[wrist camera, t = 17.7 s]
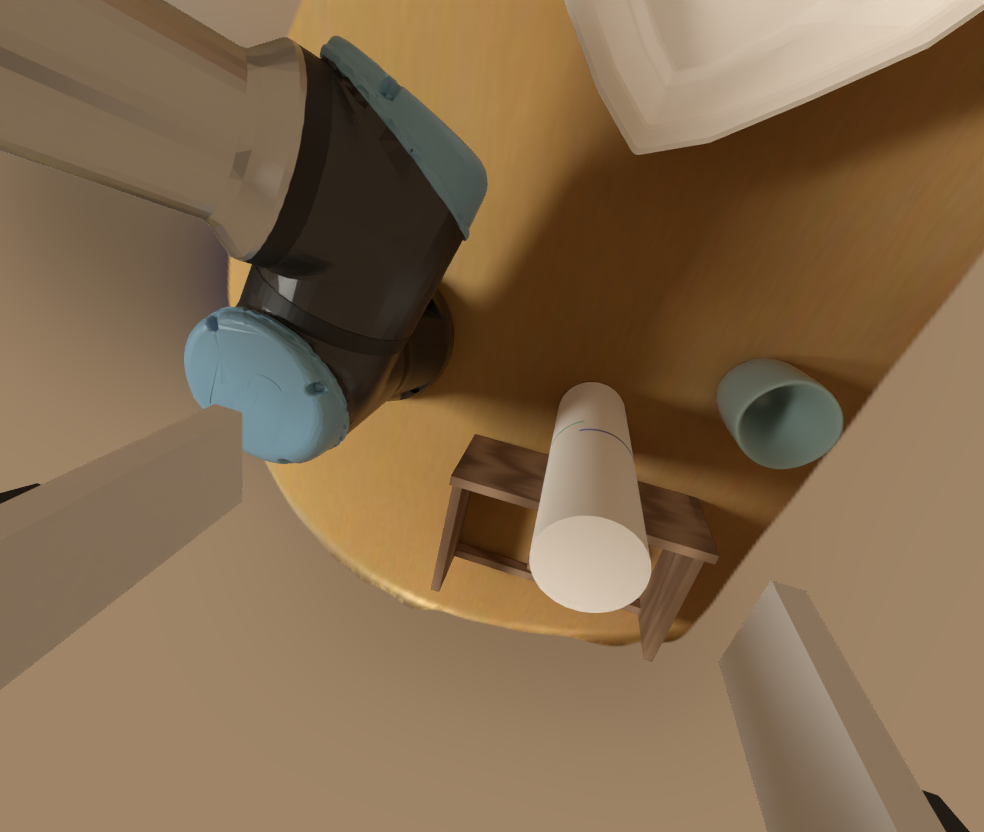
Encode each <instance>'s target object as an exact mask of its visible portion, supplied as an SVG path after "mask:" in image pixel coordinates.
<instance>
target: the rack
mask: <svg viewBox="0 0 984 832" xmlns="http://www.w3.org/2000/svg"><path fill="white" fill-rule="evenodd" d="M548 458H549V455H545V454H542V453H538V452H535V451H531V450H528V449H525V448H521V447H518V446H514V445H511V444H507V443H504V442H500V441H497V440H493V439H490V438H486V437H483V436H479V435H476V434H475V435H474V437H473V439H472V440H471V442H470V444H469V446H468V447H467V449H466V451H465V453H464V454H463V456H462V458H461V460H460V461H459V463H458V465H457V467H456V468H455V470H454V472H453V474H452V475H451V479H450V484H449V485H453V486H452V491H451V496H450V500H449V505H448V510H447V515H446V519H445V524H444V529H443V534H442V538H441V543H440V548H439V553H438V558H437V562H436V567H435V572H434V577H433V581H432V586H431V590H435V591H438V592H439V591H440V588H441V586H442V584H443V581H444V579H445V577H446V574H447V572H448V569H449V567H450V565H451V562H452V560H453V558H454V556H456V557H460V558H463V559H466V560H469V561H472V562H475V563H478V564H482V565H485V566H488V567H491V568H494V569H497V570H500V571H504V572H507V573H510V574H513V575H516V576H519V577H522V578H526V579H529V580H532V581H535V580H534V578H533V575H532V573H531V571H530V570H528V569H527V564H525V563H522V562H519V561H516V560H512V559H509V558H506V557H503V556H500V555H496V554H493V553H490V552H487V551H484V550H481V549H477V548H474V547H471V546H468V545H465V544H462V543H459V540H460V535H461V531H462V527H463V522H464V518H465V514H466V509H467V505H468V501H469V496H470V492H471V491H473V492H476V493H479V494H483V495H486V496H489V497H492V498H496V499H499V500H502V501H506V502H509V503H512V504H516V505H519V506H522V507H526V508H529V509H532V510H536V511H538V509H539V504H540V499H541V494H542V489H543V483H544V478H545V473H546V468H547V463H548ZM637 483H638V489H639V495H640V501H641V507H642V513H643V519H644V524H645V530H646V536H647V542H648V545H651V546H655V547H658V548H661V549H663V551H662V553H661V555H660V558H659V560H658V562H657V564H656V566H655V568H654V570H653V573H652V575H651V577H650V580H649V582H648V585H647V587H646V589H645V590H644V592H643V594H642V596H641V598H640V600H639V599H636V600H634V601H633V602H632V603H631V604H629V605H627V606H625V607H623V608H620V609H623V610H626V611H629V612H632V613H636V614H638V617H639V626H640V635H641V644H642V653H643V659H645V660H648V661H651V662H652V661H653V659H654V657H655V655H656V653H657V652H658V649H659V647H660V646H661V644H662V642H663V640H664V638H665V636H666V634H667V632H668V631H669V629H670V627H671V625H672V623H673V621H674V619H675V617H676V615H677V613H678V611H679V610H680V608H681V606H682V604H683V602H684V600H685V598H686V596H687V594H688V592H689V590H690V589H691V587H692V585H693V583H694V581H695V579H696V577H697V575H698V573H699V571H700V569H701V568H702V566H703V564H704V562H708V563H711V564H714V565H715V564H716V562H717V560H718V558H719V554H718V551H717V549H716V546H715V543H714V541H713V538H712V535H711V533H710V530H709V528H708V525H707V522H706V520H705V517H704V514H703V512H702V509H701V507H700V504H699V501H698V499H697V498H694V497H691V496H687V495H684V494H680V493H677V492H673V491H670V490H667V489H663V488H660V487H656V486H653V485H649V484H646V483H642V482H639V481H637ZM535 582H536V581H535Z"/></svg>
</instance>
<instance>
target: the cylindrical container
mask: <svg viewBox="0 0 984 832" xmlns="http://www.w3.org/2000/svg"><path fill="white" fill-rule="evenodd" d="M529 564H530V570H531V573H532V575H533V578H534V580H535V581H536V583H537V584H538V586H539V588H540V589H541V590H542V591H543V592H544V593H545V594H546V595H547V596H549V597H550V598H551V599H553V600H554V601H556V602H557V603H559V604H561V605H563V606H565V607H567V608H571V609H574V610H577V611H582V612H588V613H602V612H610V611H614V610H617V609H620V608H623V607H625V606H627V605H629V604H631V603H632V602H633V601H634V600H636V599H637V598H638V597H639V596H640V595H641V594H642V593H643V591H644V590H645V589H646V587H647V585H648V582H649V580H650V575H651V560H650V554H649V548H648V542H647V536H646V530H645V524H644V519H643V513H642V507H641V501H640V495H639V489H638V483H637V477H636V471H635V465H634V459H633V453H632V448H631V442H630V436H629V430H628V424H627V418H626V412H625V407H624V403H623V401H622V399H621V397H620V396H619V394H618V393H617V392H616V391H615V390H613V389H612V388H611V387H609V386H607V385H605V384H602V383H598V382H585V383H582V384H578V385H576V386H574V387H572V388H571V389H570V390H568V391H567V392H566V394H565V395H564V396H563V398H562V399H561V401H560V404H559V408H558V413H557V418H556V423H555V428H554V433H553V438H552V443H551V448H550V453H549V458H548V463H547V468H546V473H545V478H544V483H543V489H542V494H541V499H540V504H539V509H538V514H537V519H536V524H535V529H534V534H533V539H532V544H531V549H530V557H529Z"/></svg>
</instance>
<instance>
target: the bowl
mask: <svg viewBox="0 0 984 832" xmlns="http://www.w3.org/2000/svg"><path fill="white" fill-rule="evenodd" d="M564 2H565V5H566V8H567V10H568V13H569V16H570V18H571V21H572V24H573V27H574V29H575V32H576V35H577V37H578V40H579V43H580V46H581V48H582V51H583V54H584V56H585V59H586V62H587V65H588V67H589V70H590V73H591V75H592V78H593V81H594V84H595V86H596V89H597V92H598V93H599V95H600V97H601V99H602V100H603V102H604V104H605V106H606V107H607V109H608V111H609V113H610V114H611V116H612V118H613V120H614V121H615V123H616V125H617V127H618V129H619V130H620V132H621V134H622V136H623V137H624V139H625V141H626V143H627V144H628V146H629V148H630V150H631V151H632V152H633V153H634V154H635V155H642V154H648V153H653V152H659V151H665V150H671V149H677V148H683V147H689V146H694V145H700V144H706V143H710V142H713V141H715V140H718V139H720V138H722V137H725V136H727V135H730V134H732V133H734V132H737V131H739V130H742V129H744V128H746V127H749V126H751V125H754V124H756V123H758V122H761V121H763V120H765V119H768V118H770V117H773V116H775V115H777V114H780V113H782V112H785V111H787V110H789V109H792V108H794V107H797V106H799V105H801V104H804V103H806V102H809V101H811V100H813V99H816V98H818V97H820V96H822V95H824V94H827V93H829V92H831V91H833V90H836V89H838V88H840V87H842V86H845V85H847V84H849V83H851V82H854V81H856V80H858V79H860V78H863V77H865V76H867V75H869V74H872V73H874V72H876V71H878V70H880V69H883V68H885V67H887V66H889V65H892V64H894V63H896V62H898V61H901V60H903V59H905V58H907V57H910V56H912V55H914V54H916V53H919V52H921V51H923V50H925V49H928V48H929V47H931V46H932V45H934V44H935V43H936V42H938V41H939V40H941V39H942V38H944V37H945V36H947V35H948V34H950V33H951V32H953V31H954V30H955V29H957V28H958V27H960V26H961V25H963V24H964V23H966V22H967V21H969V20H970V19H971V18H973V17H974V16H976V15H977V14H979V13H980V12H982V11H983V10H984V0H564Z"/></svg>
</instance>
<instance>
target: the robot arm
mask: <svg viewBox="0 0 984 832" xmlns="http://www.w3.org/2000/svg"><path fill="white" fill-rule="evenodd" d="M320 57H321V58H318V57H317V56H315V55H314V54H312V53H311V52H309V51H308V50H306V49H305V48H303V47H302V46H300V45H299V44H297V43H296V42H295V41H293V40H291V39H289V38H287V37H282V38H279V39H275V40H272V41H269V42H266V43H263V44H259V45H256V46H253V47H250V48H244V47H241V46H239V45H237V44H235V43H234V42H232V41H230V40H229V39H227V38H225V37H224V36H222V35H221V34H219V33H217V32H216V31H214V30H212V29H211V28H209V27H207V26H205V25H204V24H202V23H201V22H199V21H197V20H196V19H194V18H192V17H191V16H189V15H187V14H186V13H184V12H182V11H181V10H179V9H177V8H176V7H174V6H172V5H171V4H169V3H168V2H166V1H164V0H0V150H1V151H4V152H7V153H10V154H13V155H15V156H18V157H21V158H24V159H27V160H30V161H33V162H36V163H39V164H42V165H45V166H48V167H51V168H53V169H56V170H60V171H62V172H65V173H68V174H71V175H74V176H77V177H80V178H83V179H86V180H89V181H91V182H95V183H97V184H100V185H104V186H106V187H109V188H112V189H115V190H118V191H121V192H124V193H127V194H130V195H132V196H135V197H138V198H141V199H144V200H147V201H150V202H153V203H156V204H159V205H162V206H165V207H168V208H170V209H173V210H176V211H179V212H182V213H185V214H188V215H191V216H194V217H197V218H200V219H202V220H204V221H205V222H206V223H207V224H208V225H209V226H210V227H211V229H212V230H213V232H214V233H215V234H216V236H217V237H218V239H219V240H220V242H221V243H222V245H223V246H224V248H225V249H226V251H227V252H228V253H229V255H230V256H231V257H233V258H235V259H237V260H240V261H243V262H246V263H250V264H252V266H251V269H250V272H249V275H248V277H247V280H246V283H245V286H244V289H243V292H242V295H241V297H240V300H239V302H238V304H237V305H236V307H226V308H221V309H219V310H217V311H216V312H213V313H212V314H210V315H209V317H207V318H205V319H203V320H202V321H200V322H199V323H198V324H197V325H196V326H195V328H194V329H193V330H192V332H191V333H190V336H189V337H188V340H187V344H186V347H185V355H184V364H185V371H186V377H187V381H188V384H189V387H190V389H191V392H192V394H193V396H194V398H195V400H196V401H197V402H198V403H199V405H200V406H201V408H202V410H201V411H199V412H196V413H194V414H192V415H190V416H188V417H186V418H184V419H181V420H179V421H177V422H175V423H173V424H171V425H168V426H166V427H164V428H162V429H160V430H158V431H156V432H154V433H151V434H149V435H147V436H145V437H143V438H141V439H139V440H136V441H134V442H132V443H130V444H128V445H126V446H124V447H121V448H119V449H117V450H115V451H113V452H111V453H109V454H106V455H104V456H102V457H100V458H98V459H96V460H94V461H91V462H89V463H87V464H85V465H83V466H81V467H79V468H76V469H74V470H72V471H70V472H68V473H66V474H64V475H62V476H59V477H57V478H55V479H53V480H51V481H49V482H46V483H44V484H42V485H40V484H37V483H36V484H33V485H29V486H25V487H21V488H18V489H14V490H10V491H6V492H3V493H0V690H1V689H2V688H3V687H5V686H6V685H7V684H8V683H10V682H11V681H12V680H14V679H15V678H16V677H17V676H19V675H20V674H21V673H23V672H24V671H25V670H26V669H28V668H29V667H30V666H31V665H33V664H34V663H35V662H37V661H38V660H39V659H40V658H42V657H43V656H44V655H46V654H47V653H48V652H49V651H51V650H52V649H53V648H54V647H56V646H57V645H58V644H60V643H61V642H62V641H64V640H65V639H66V638H67V637H69V636H70V635H71V634H73V633H74V632H75V631H76V630H78V629H79V628H80V627H81V626H83V625H84V624H85V623H86V622H88V621H89V620H90V619H92V618H93V617H94V616H96V615H97V614H98V613H99V612H101V611H102V610H103V609H105V608H106V607H107V606H108V605H110V604H111V603H112V602H114V601H115V600H116V599H117V598H119V597H120V596H121V595H122V594H124V593H125V592H126V591H128V590H129V589H130V588H131V587H133V586H134V585H135V584H137V583H138V582H139V581H140V580H142V579H143V578H144V577H145V576H147V575H148V574H149V573H151V572H152V571H153V570H155V569H156V568H157V567H158V566H160V565H161V564H162V563H164V562H165V561H166V560H167V559H169V558H170V557H171V556H173V555H174V554H175V553H176V552H178V551H179V550H180V549H182V548H183V547H184V546H185V545H187V544H188V543H189V542H190V541H192V540H193V539H194V538H195V537H197V536H198V535H199V534H201V533H202V532H203V531H205V530H206V529H207V528H208V527H210V526H211V525H212V524H214V523H215V522H216V521H217V520H218V519H220V518H221V517H223V516H224V515H225V514H226V513H228V512H229V511H230V510H231V509H233V508H234V507H235V506H237V505H238V504H239V503H241V502H242V450H243V451H245V452H247V453H248V454H250V455H252V456H254V457H257V458H260V459H262V460H265V461H269V462H273V463H279V464H288V463H303V462H307V461H309V460H312V459H314V458H316V457H318V456H319V455H321V454H322V453H324V452H326V451H327V450H329V449H332V448H334V447H336V446H338V445H339V444H340V442H341V441H343V440H344V438H345V437H346V435H347V434H348V433H350V432H351V431H352V430H353V429H354V428H355V427H357V426H358V425H359V424H360V423H361V422H362V421H364V420H365V419H366V418H367V417H368V416H369V415H371V414H372V413H373V412H374V411H375V410H377V409H378V408H379V407H380V406H381V405H382V404H384V403H385V402H386V401H396V400H402V399H406V398H410V397H412V396H415V395H417V394H419V393H421V392H422V391H424V390H425V389H427V388H428V387H429V386H430V385H431V384H432V383H433V382H434V381H435V380H436V379H437V378H438V377H439V376H440V375H441V374H442V372H443V371H444V369H445V368H446V366H447V364H448V362H449V359H450V356H451V353H452V349H453V341H454V330H453V322H452V318H451V314H450V311H449V308H448V306H447V304H446V302H445V300H444V298H443V296H442V295H441V293H440V291H439V290H438V289H437V287H438V285H439V283H440V281H441V279H442V278H443V276H444V274H445V272H446V270H447V268H448V266H449V265H450V263H451V261H452V259H453V257H454V255H455V253H456V252H457V250H458V248H459V246H460V244H461V242H462V240H464V241H466V240H467V239H468V237H469V228H470V226H471V224H472V222H473V220H474V218H475V216H476V214H477V212H478V210H479V208H480V205H481V203H482V201H483V199H484V197H485V195H486V191H487V185H488V184H487V175H486V171H485V168H484V166H483V164H482V162H481V161H480V159H479V158H478V157H477V156H476V154H475V153H474V152H473V151H472V150H471V149H470V148H469V147H468V146H467V145H466V144H465V143H464V142H463V141H462V140H461V139H460V138H459V137H458V136H457V135H456V134H455V133H454V132H453V131H452V130H451V129H450V128H449V127H448V126H447V125H446V124H445V123H444V122H443V121H441V120H440V119H439V118H438V117H437V116H436V115H435V114H434V113H433V112H432V111H430V110H429V109H428V108H427V107H426V106H425V105H424V104H423V103H422V102H420V101H419V100H418V99H417V98H416V97H415V96H414V95H412V94H411V93H410V92H409V91H408V90H407V89H405V88H404V87H402V86H400V85H398V83H397V82H396V80H394V79H393V78H392V77H391V76H390V75H388V74H387V73H386V72H385V71H384V70H383V69H382V68H381V67H380V66H379V65H378V64H377V63H375V62H374V61H373V60H372V59H371V58H369V57H368V56H367V55H366V54H364V53H363V52H362V51H361V50H359V49H358V48H357V47H355V46H354V45H353V44H351V43H350V42H349V41H347V40H345V39H343V38H341V37H339V36H333V37H332V38H331V39H330V40H329V41H328V43H327V44H324V45H323V46H322V48H321V52H320ZM719 665H720V668H721V672H722V675H723V678H724V682H725V685H726V689H727V693H728V696H729V700H730V703H731V707H732V710H733V714H734V717H735V721H736V724H737V728H738V731H739V735H740V738H741V742H742V745H743V748H744V752H745V756H746V759H747V762H748V766H749V769H750V773H751V777H752V780H753V784H754V787H755V791H756V794H757V798H758V801H759V805H760V808H761V812H762V815H763V819H764V822H765V825H766V829H767V832H969V831H968V829H967V828H966V827H965V826H964V825H963V823H962V822H961V821H960V820H959V819H958V818H957V817H956V815H955V814H954V813H953V812H952V811H951V810H950V809H949V807H948V806H947V805H946V804H945V803H944V802H943V800H942V799H941V798H940V797H939V796H938V795H935V794H932V793H929V792H926V791H923V790H921V788H920V786H919V785H918V783H917V781H916V779H915V778H914V776H913V774H912V773H911V771H910V769H909V767H908V766H907V764H906V762H905V761H904V759H903V757H902V755H901V754H900V752H899V750H898V749H897V747H896V745H895V743H894V742H893V740H892V738H891V736H890V735H889V733H888V731H887V730H886V728H885V726H884V724H883V723H882V721H881V719H880V718H879V716H878V714H877V713H876V711H875V709H874V707H873V706H872V704H871V702H870V700H869V699H868V697H867V695H866V694H865V692H864V690H863V688H862V687H861V685H860V683H859V681H858V680H857V678H856V676H855V675H854V673H853V671H852V669H851V668H850V666H849V664H848V662H847V661H846V659H845V657H844V656H843V654H842V652H841V650H840V649H839V647H838V645H837V644H836V642H835V640H834V638H833V637H832V635H831V633H830V632H829V630H828V628H827V626H826V625H825V623H824V621H823V620H822V618H821V617H820V615H819V613H818V611H817V609H816V607H815V606H814V604H813V602H812V601H811V599H810V597H809V595H808V594H807V592H806V591H804V590H801V589H798V588H795V587H792V586H788V585H785V584H782V583H779V582H776V581H772V580H771V581H770V583H769V584H768V586H767V587H766V589H765V590H764V592H763V594H762V595H761V597H760V598H759V600H758V601H757V603H756V604H755V606H754V607H753V609H752V611H751V612H750V614H749V615H748V617H747V619H746V620H745V621H744V623H743V625H742V626H741V628H740V629H739V631H738V632H737V634H736V635H735V637H734V639H733V640H732V642H731V643H730V645H729V646H728V648H727V649H726V651H725V653H724V654H723V656H722V657H721V659H720V660H719Z"/></svg>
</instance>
